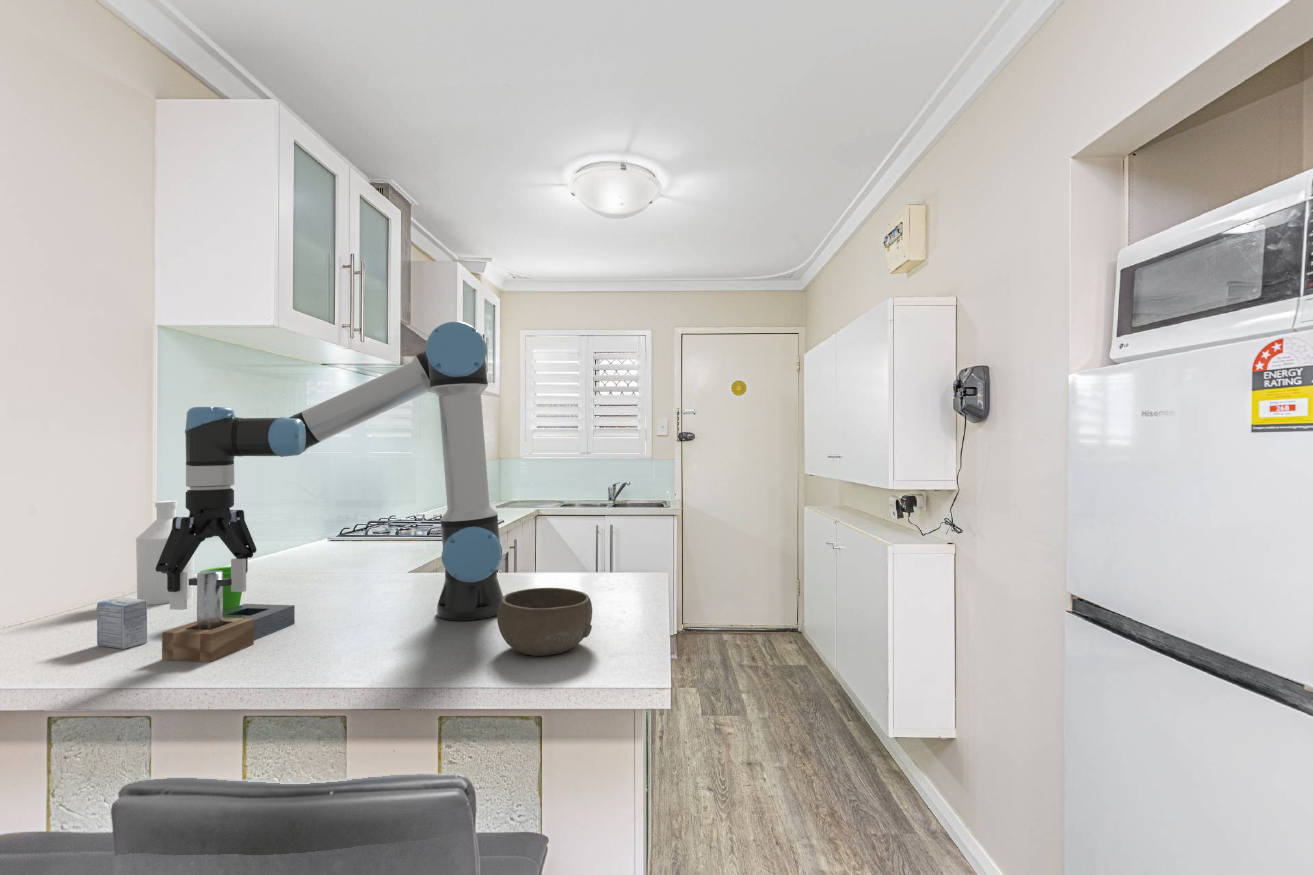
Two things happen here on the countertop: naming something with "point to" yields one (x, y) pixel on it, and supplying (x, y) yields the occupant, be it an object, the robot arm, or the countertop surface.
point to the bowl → (544, 620)
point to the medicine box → (122, 622)
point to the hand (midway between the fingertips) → (210, 599)
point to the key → (210, 598)
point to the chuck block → (264, 616)
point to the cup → (228, 590)
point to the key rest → (207, 640)
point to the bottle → (157, 557)
